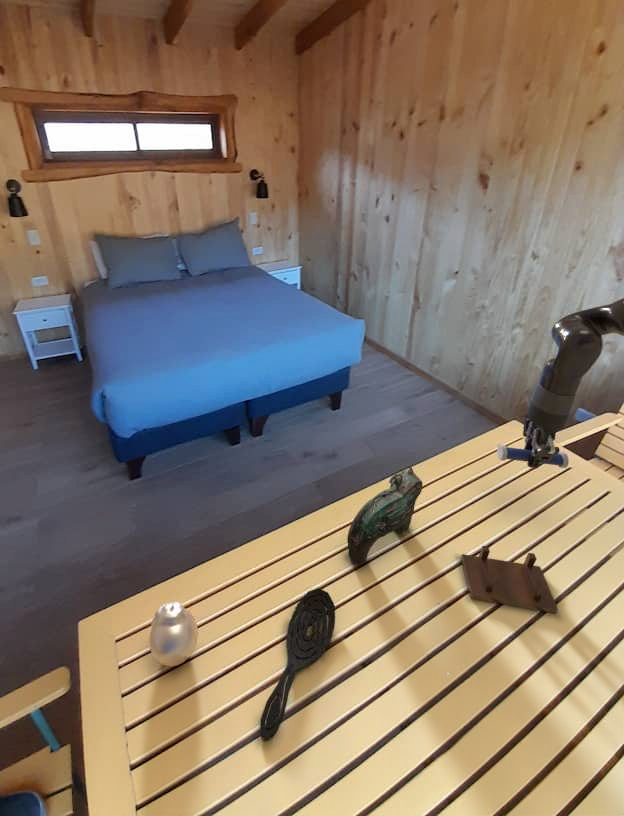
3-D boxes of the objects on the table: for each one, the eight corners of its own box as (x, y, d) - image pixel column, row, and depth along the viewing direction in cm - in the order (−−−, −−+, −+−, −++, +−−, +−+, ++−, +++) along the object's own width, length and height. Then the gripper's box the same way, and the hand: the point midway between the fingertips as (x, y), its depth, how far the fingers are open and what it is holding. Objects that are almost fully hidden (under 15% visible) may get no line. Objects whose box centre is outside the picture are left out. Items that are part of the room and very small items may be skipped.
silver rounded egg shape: (203, 619, 80) (198, 589, 76) (196, 675, 72) (190, 646, 68) (158, 619, 81) (151, 589, 76) (146, 676, 72) (137, 646, 68)
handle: (558, 460, 97) (563, 449, 95) (565, 471, 94) (570, 460, 92) (495, 452, 100) (499, 441, 98) (500, 463, 96) (504, 452, 95)
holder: (537, 570, 88) (547, 550, 85) (556, 613, 80) (567, 593, 77) (460, 558, 91) (466, 538, 88) (470, 598, 83) (477, 578, 80)
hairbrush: (241, 715, 65) (306, 577, 83) (242, 724, 67) (305, 587, 85) (286, 750, 61) (343, 598, 80) (286, 759, 63) (342, 608, 81)
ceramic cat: (399, 512, 102) (410, 453, 93) (420, 531, 97) (434, 470, 88) (340, 552, 93) (347, 490, 84) (360, 575, 88) (370, 512, 79)
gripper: (586, 425, 82) (559, 486, 90) (556, 387, 94) (535, 443, 102) (545, 421, 83) (522, 481, 91) (521, 384, 96) (503, 440, 103)
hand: (529, 461), depth 97 cm, fingers closed on handle, 3 cm apart
